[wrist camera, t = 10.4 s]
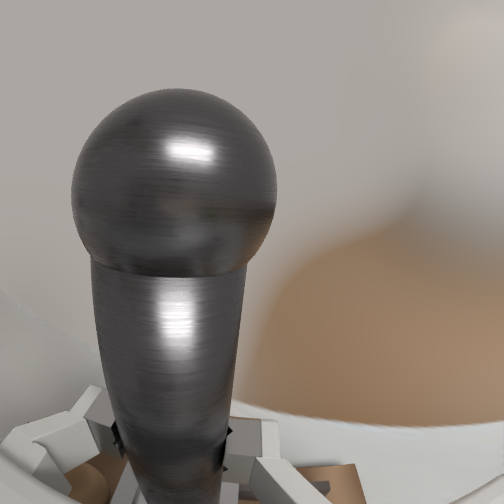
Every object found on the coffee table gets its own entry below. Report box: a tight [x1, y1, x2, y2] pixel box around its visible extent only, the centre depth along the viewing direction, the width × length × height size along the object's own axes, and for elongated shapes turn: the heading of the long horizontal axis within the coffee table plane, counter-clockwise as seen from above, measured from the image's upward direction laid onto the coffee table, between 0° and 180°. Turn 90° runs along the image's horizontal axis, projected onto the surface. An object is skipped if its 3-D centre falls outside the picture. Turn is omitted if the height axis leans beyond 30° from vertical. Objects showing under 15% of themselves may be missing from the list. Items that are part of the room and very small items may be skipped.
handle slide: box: [71, 89, 277, 504], centre depth 7 cm, size 6×5×19 cm
